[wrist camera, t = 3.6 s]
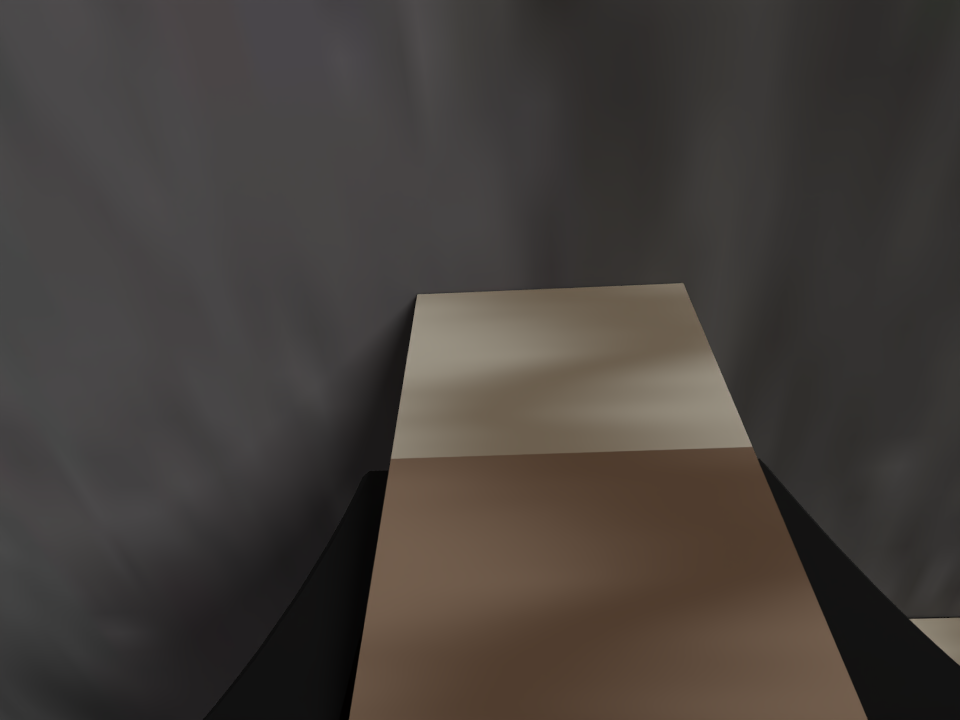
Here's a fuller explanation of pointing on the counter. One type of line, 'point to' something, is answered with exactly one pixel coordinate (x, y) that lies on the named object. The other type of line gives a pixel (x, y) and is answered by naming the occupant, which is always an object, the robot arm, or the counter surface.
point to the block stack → (583, 527)
